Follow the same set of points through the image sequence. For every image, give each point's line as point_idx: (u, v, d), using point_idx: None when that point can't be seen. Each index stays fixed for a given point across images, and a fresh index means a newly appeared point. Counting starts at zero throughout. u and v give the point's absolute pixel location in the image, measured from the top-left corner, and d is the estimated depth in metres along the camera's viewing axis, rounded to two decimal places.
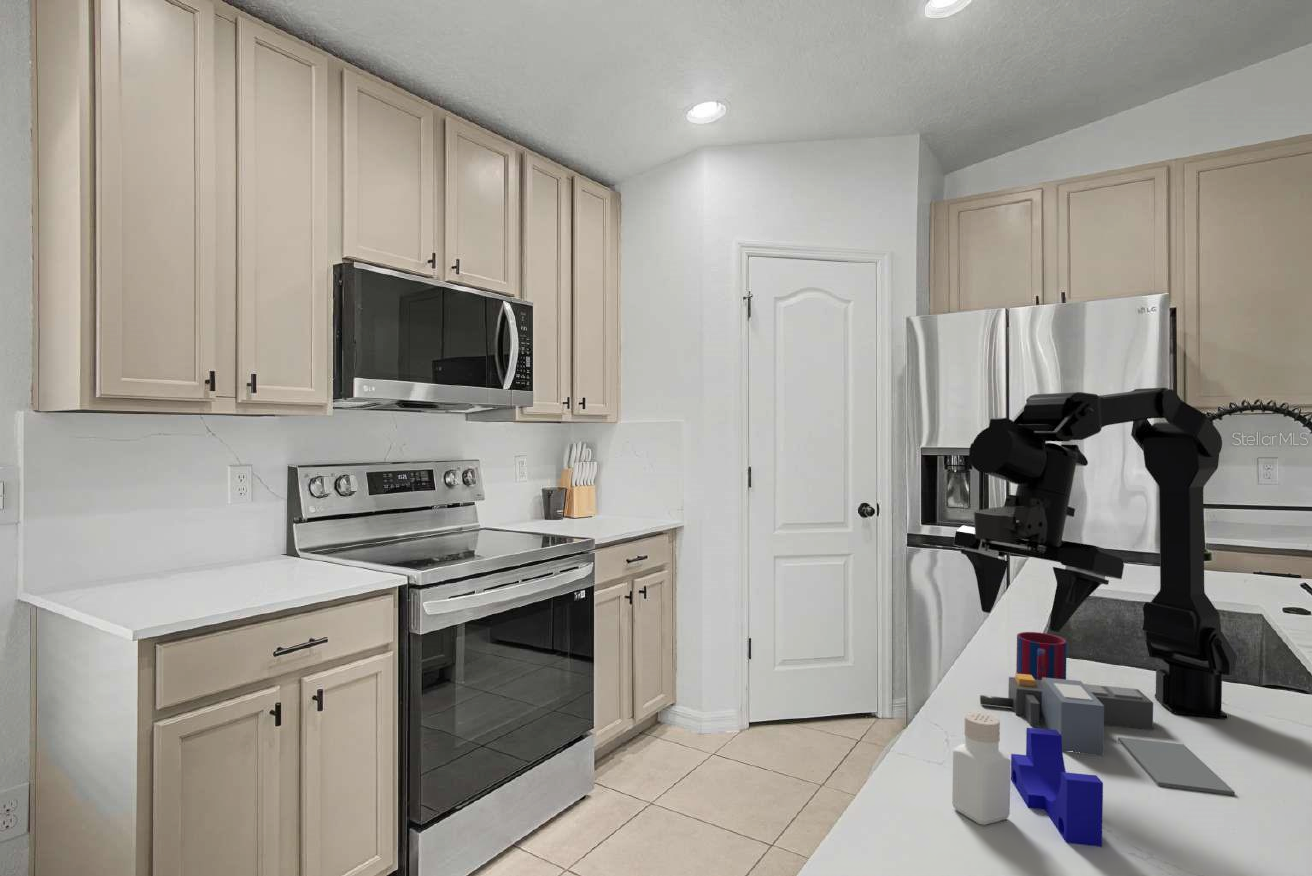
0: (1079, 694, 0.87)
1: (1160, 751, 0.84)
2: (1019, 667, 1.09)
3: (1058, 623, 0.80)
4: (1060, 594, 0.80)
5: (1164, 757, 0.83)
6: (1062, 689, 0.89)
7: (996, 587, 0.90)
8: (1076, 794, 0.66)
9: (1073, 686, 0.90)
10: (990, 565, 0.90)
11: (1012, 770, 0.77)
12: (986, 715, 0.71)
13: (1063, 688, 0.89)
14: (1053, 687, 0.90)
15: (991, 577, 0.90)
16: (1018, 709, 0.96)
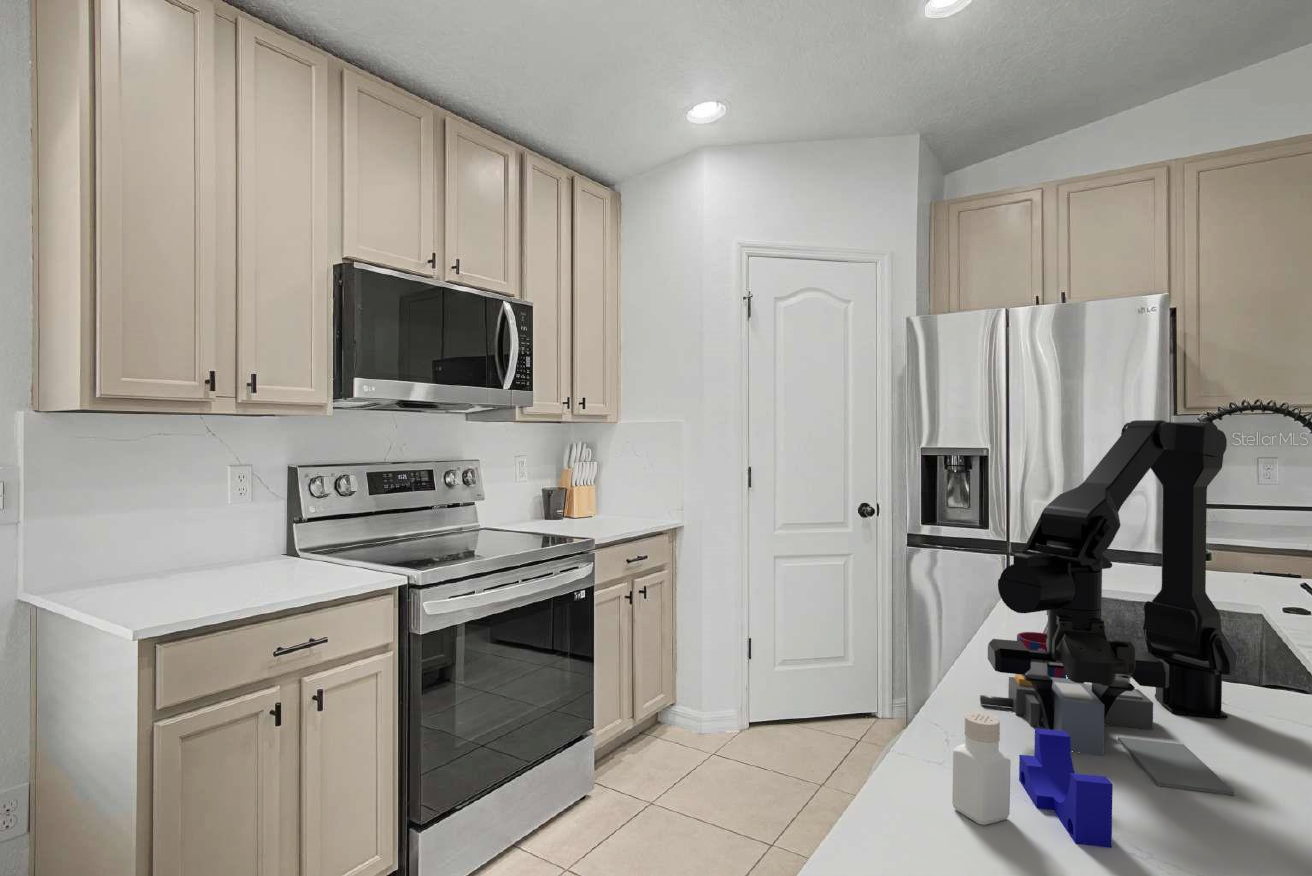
0: (1079, 693, 0.87)
1: (1160, 751, 0.84)
2: None
3: None
4: (1106, 704, 0.86)
5: (1164, 757, 0.83)
6: (1062, 688, 0.89)
7: None
8: (1085, 795, 0.65)
9: (1073, 685, 0.90)
10: None
11: (1020, 771, 0.77)
12: (986, 715, 0.71)
13: (1063, 687, 0.89)
14: (1053, 686, 0.90)
15: None
16: (1018, 709, 0.96)
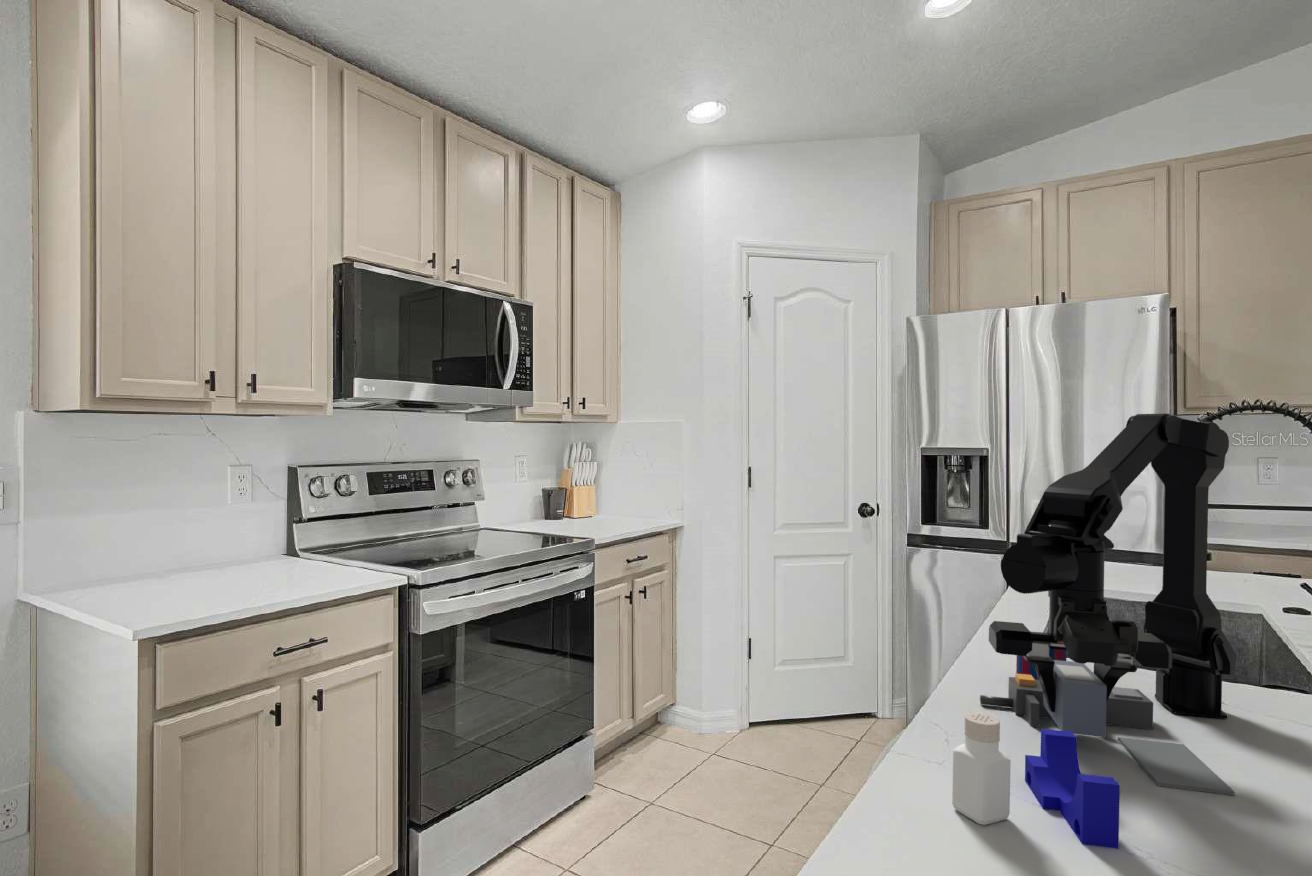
0: (1081, 675, 0.86)
1: (1160, 751, 0.84)
2: (1019, 667, 1.09)
3: None
4: (1108, 686, 0.85)
5: (1164, 757, 0.83)
6: (1064, 670, 0.88)
7: None
8: (1092, 796, 0.65)
9: (1075, 667, 0.89)
10: None
11: (1026, 771, 0.77)
12: (986, 715, 0.71)
13: (1065, 669, 0.88)
14: (1055, 668, 0.89)
15: None
16: (1018, 709, 0.96)
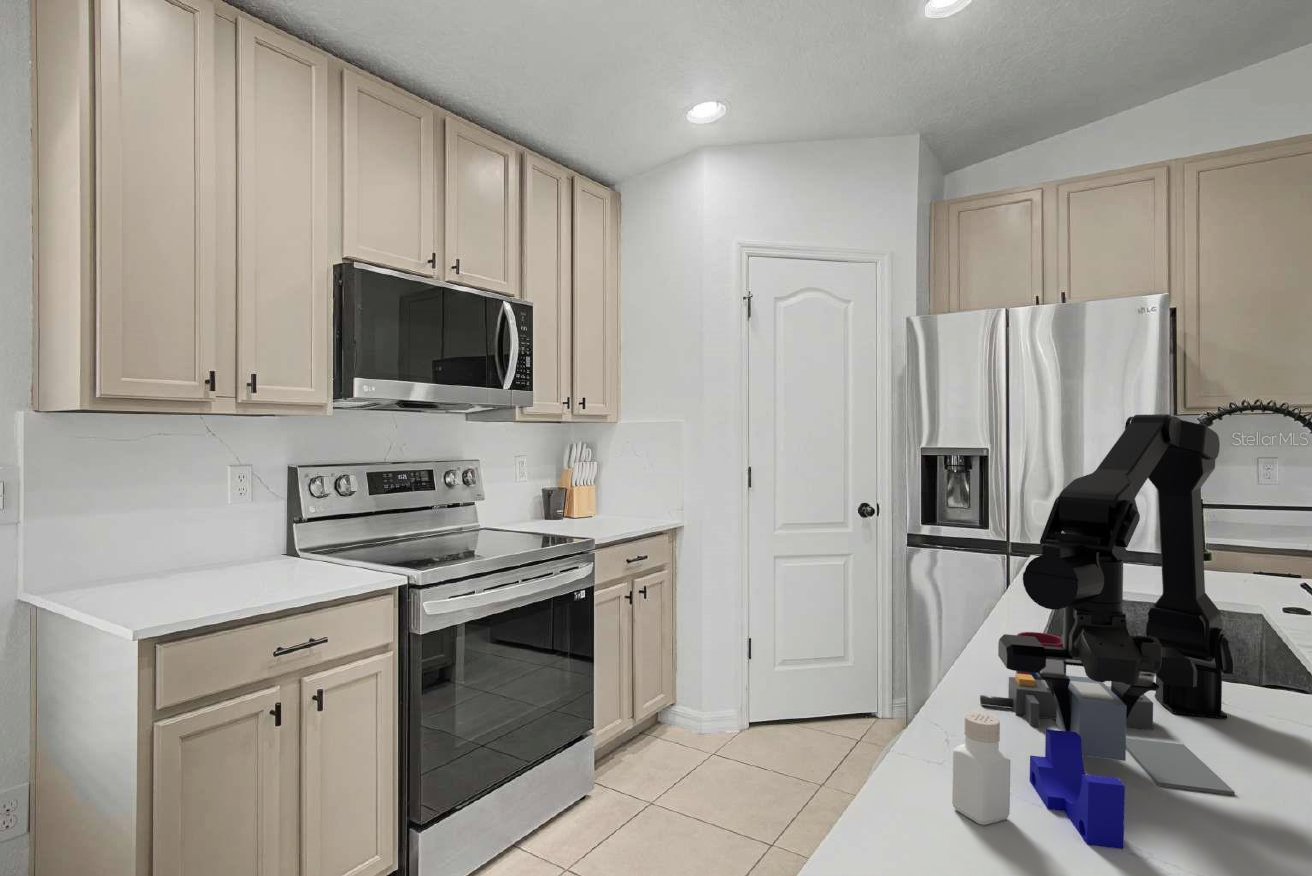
0: (1098, 693, 0.80)
1: (1160, 751, 0.84)
2: None
3: None
4: (1127, 705, 0.79)
5: (1164, 757, 0.83)
6: (1080, 687, 0.82)
7: None
8: (1097, 797, 0.65)
9: (1091, 684, 0.83)
10: None
11: (1031, 772, 0.77)
12: (986, 715, 0.71)
13: (1081, 686, 0.82)
14: (1070, 685, 0.83)
15: None
16: (1018, 709, 0.96)
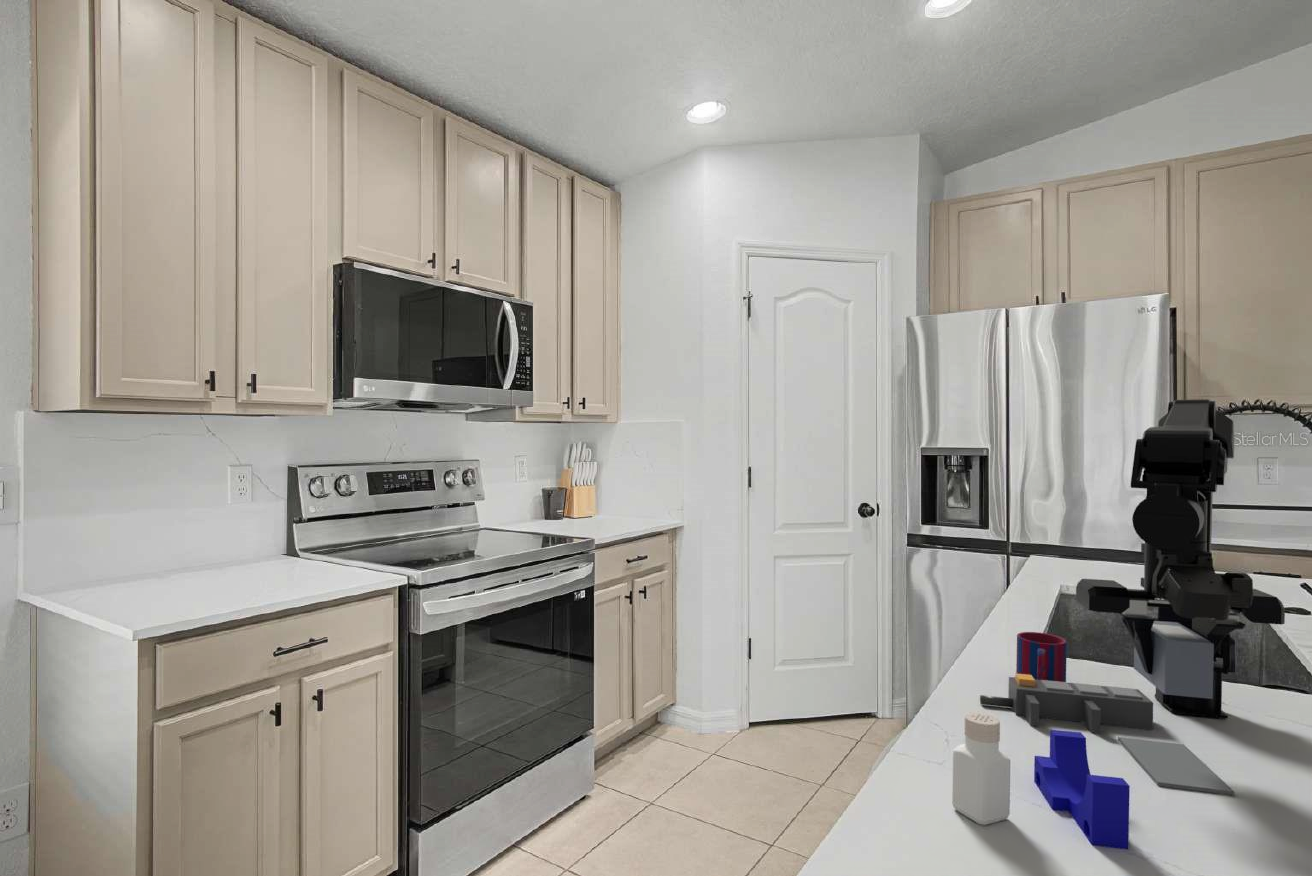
0: (1182, 633, 0.80)
1: (1160, 751, 0.84)
2: (1019, 667, 1.09)
3: None
4: None
5: (1164, 757, 0.83)
6: (1162, 629, 0.82)
7: None
8: (1102, 797, 0.65)
9: (1172, 626, 0.83)
10: None
11: (1035, 772, 0.77)
12: (986, 715, 0.71)
13: (1162, 628, 0.82)
14: None
15: None
16: (1018, 709, 0.96)
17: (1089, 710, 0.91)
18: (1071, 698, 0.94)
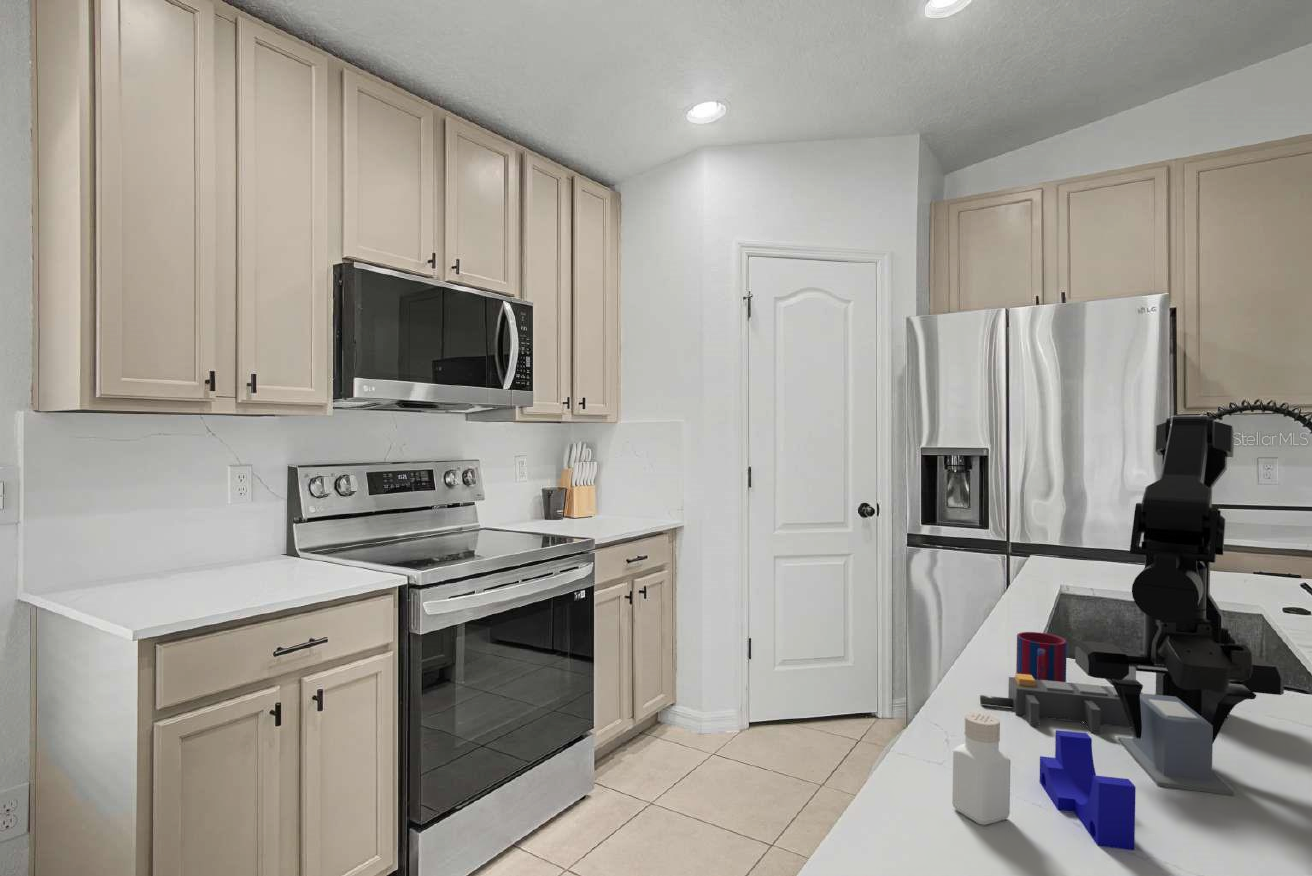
0: (1181, 712, 0.80)
1: None
2: (1019, 667, 1.09)
3: None
4: (1222, 713, 0.79)
5: None
6: (1161, 706, 0.82)
7: None
8: (1108, 798, 0.65)
9: (1171, 703, 0.83)
10: None
11: (1041, 773, 0.77)
12: (986, 715, 0.71)
13: (1161, 705, 0.82)
14: (1150, 703, 0.83)
15: None
16: (1018, 709, 0.96)
17: (1089, 710, 0.91)
18: (1071, 698, 0.94)
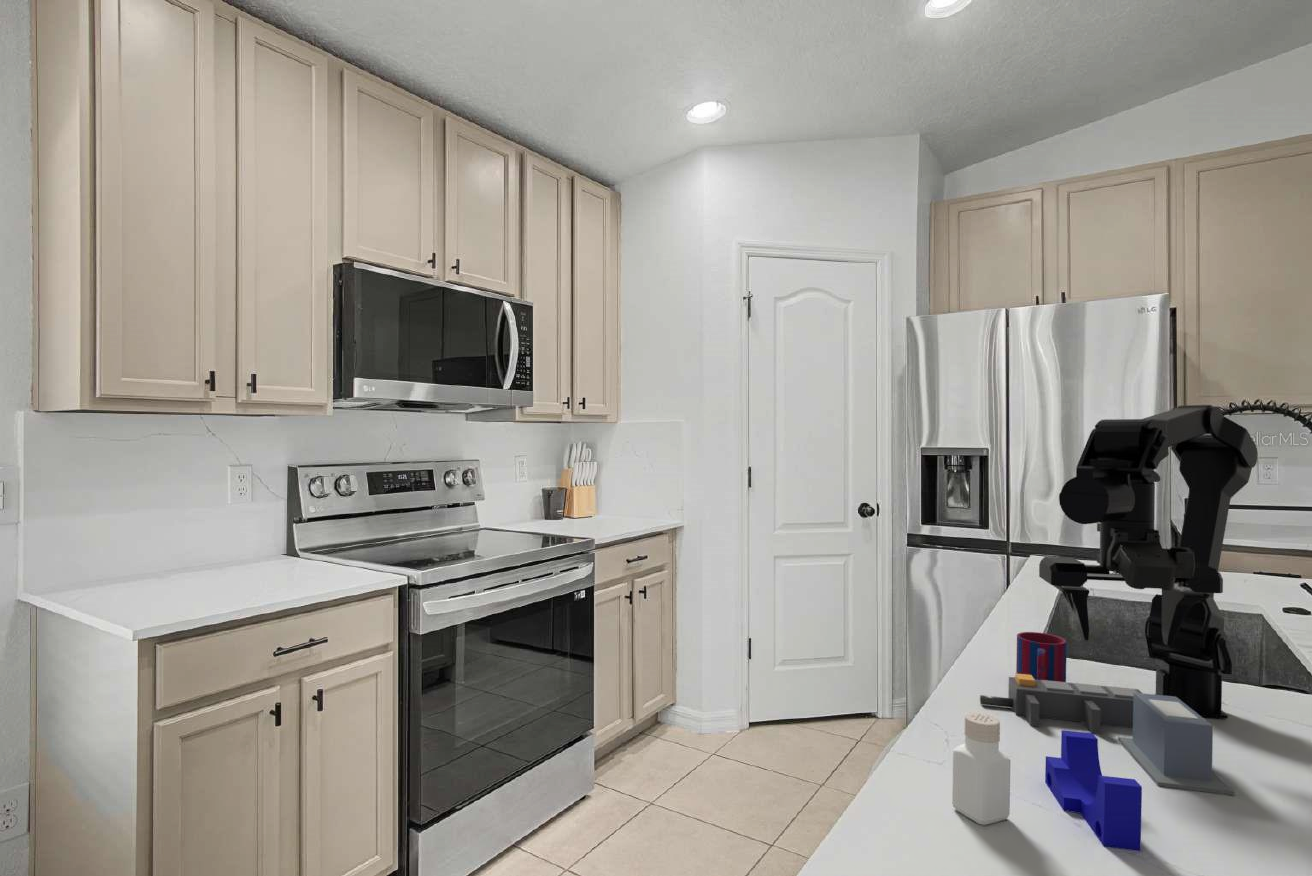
0: (1181, 712, 0.80)
1: None
2: (1019, 667, 1.09)
3: None
4: (1180, 614, 0.87)
5: None
6: (1161, 706, 0.82)
7: None
8: (1114, 798, 0.65)
9: (1171, 703, 0.83)
10: None
11: (1047, 773, 0.77)
12: (986, 715, 0.71)
13: (1161, 705, 0.82)
14: (1150, 703, 0.83)
15: None
16: (1018, 709, 0.96)
17: (1089, 710, 0.91)
18: (1071, 698, 0.94)
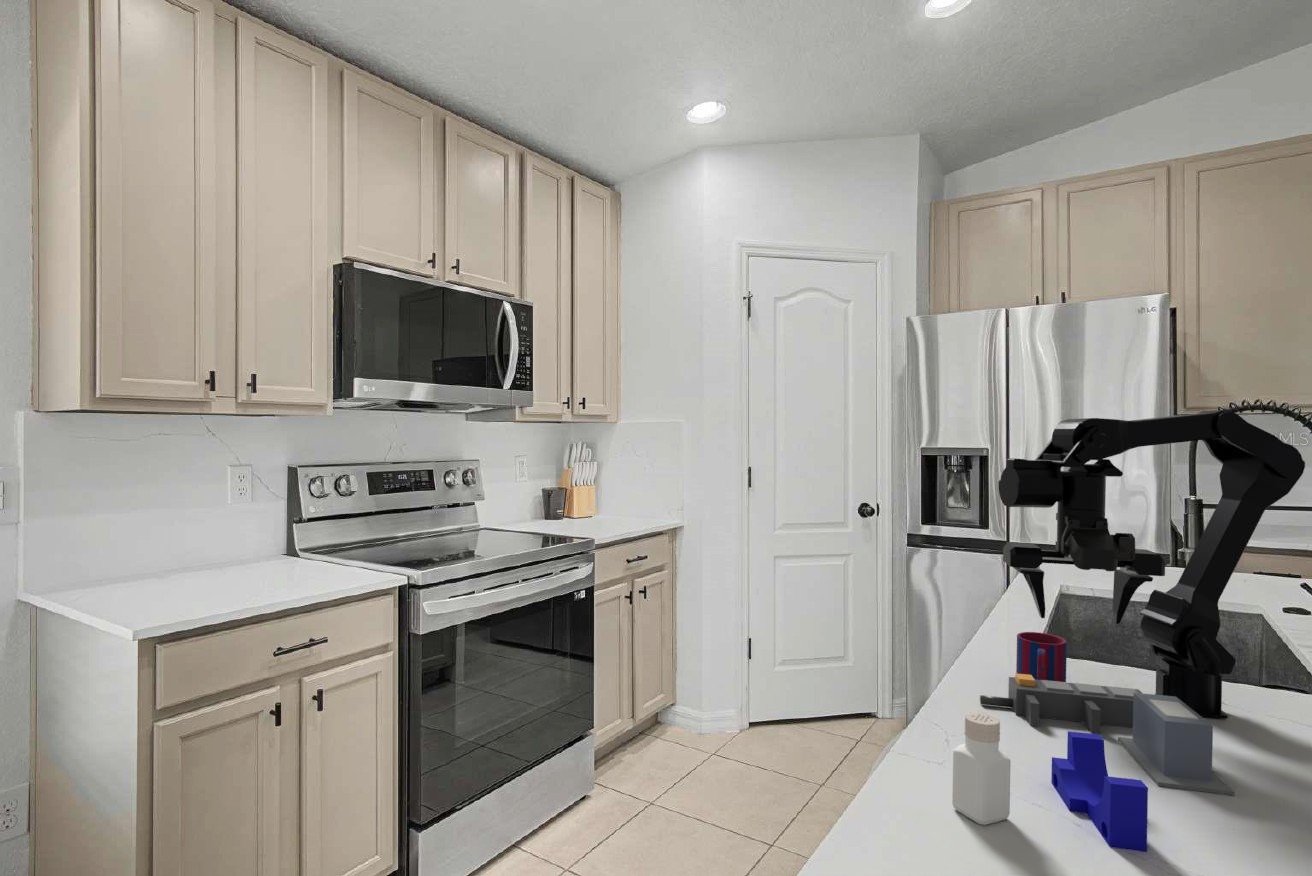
0: (1181, 712, 0.80)
1: None
2: (1019, 667, 1.09)
3: None
4: (1127, 595, 0.97)
5: None
6: (1161, 706, 0.82)
7: None
8: (1120, 798, 0.65)
9: (1171, 703, 0.83)
10: None
11: (1053, 774, 0.77)
12: (986, 715, 0.71)
13: (1161, 705, 0.82)
14: (1150, 703, 0.83)
15: None
16: (1018, 709, 0.96)
17: (1089, 710, 0.91)
18: (1071, 698, 0.94)
